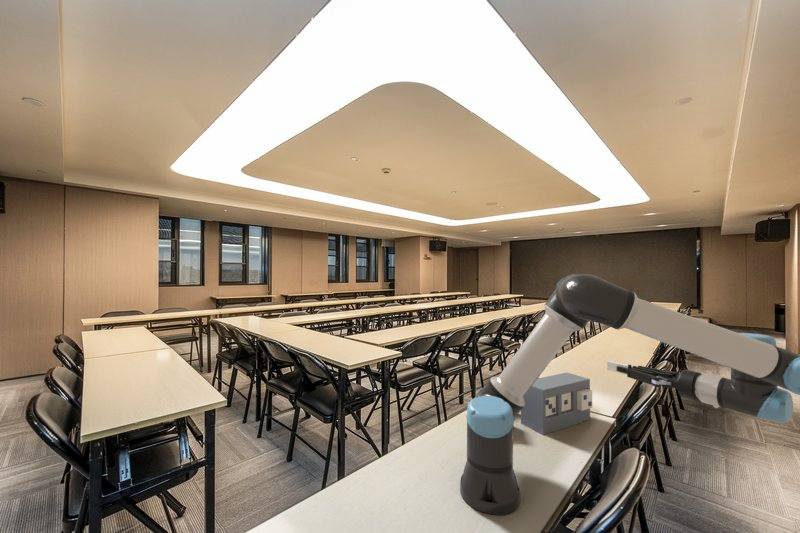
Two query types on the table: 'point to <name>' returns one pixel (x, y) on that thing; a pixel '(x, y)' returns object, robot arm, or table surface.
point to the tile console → (556, 386)
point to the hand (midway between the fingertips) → (608, 365)
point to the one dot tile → (566, 401)
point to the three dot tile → (550, 406)
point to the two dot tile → (584, 399)
